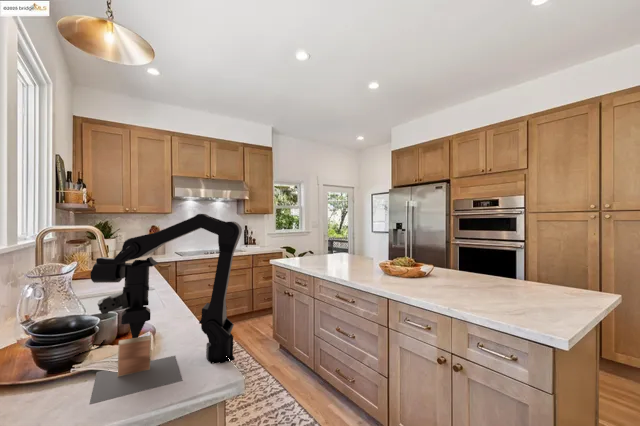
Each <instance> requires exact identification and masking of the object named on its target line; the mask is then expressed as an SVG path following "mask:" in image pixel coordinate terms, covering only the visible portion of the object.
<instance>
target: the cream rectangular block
mask: <svg viewBox="0 0 640 426" xmlns="http://www.w3.org/2000/svg"><path fill="white" fill-rule="evenodd" d="M117 350H118V351H117V352H118V353H117V368H118V373H117V377H119V376H123V375H128V374H132V373H137V372H141V371H146V370H150V361H151V357H152V356H151V353H152V352H151V351H152V336H151V335H145V336H143V335H142V336H138V337H137V338H132V337H131V338H127V339H120V340H118V349H117Z"/></svg>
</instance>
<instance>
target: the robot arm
mask: <svg viewBox="0 0 640 426" xmlns="http://www.w3.org/2000/svg"><path fill="white" fill-rule="evenodd" d="M200 229H202V230H204V231H205V230H206V231H207V232H209V233H211V234H215V235H217V237H218V238H217V243H218V250H219V251H218V258H217V264H216V270H215V274H214V279H213V280H214V281H213V286H212V292H211V297H210V301H209V302H206V303H205V305H204V306H203V307H202V308H201V318H200V321H199V322H198V324H200V326H201V328H200V329H201V331H202V332H203V333H204V335H206V336H207V339H208V342H207V343H206V349H205V350H206V352H205V354H206V355H205V356H206V360H207V361H208V362H210V364H211V365H214V364H218V363H219V364H223V363H228V362H232V361H235V359H236V358H235V356H234V335H233V334H232V331H233V328H234V326H235V325H234V323H233V322H232V321H231V320H230V319H229V318H228V317H227V301H226V298H227V293H228V292H227V291H228V287H229V281H230V276H231V270H232V266H233V265H232V264H233V260H234V253H235V251H236V248H237V247H238V243H239V242H240V239H241V235H242V233H243V229H242V226H241V225H240V223H238V222H236V221H224V220H222V219H219V218H215V217H213V216H210V215H208V214H206V213H197V214H195V216H193V217H190V218H187V219H185V220H182V221H180V222H178V223H176V224H173V225H170V226H169V227H166V228H163V229H161V230H159V231H157V232H151V233H148V234H143V235H138V236H133V237H130V238H127V239H126V240H125V241H123V244H122V249H121V250H120V251H119V253H118V254H117V255H116V256H115V257H105V256H101V257H97V258H95V259H96V260H95V261H96V262H95V264H93V266H92V269H91V271H90V280H91V281H92V282H93V283H94V284H97V283H102V284H104V283H108V284H110V283H112V284H113V283H120V282H121V281H122V279H124V286H122V291H119V292H116V293H114V294H110V295H108V296H106V297H103V298H101V299H100V300H98V301H97V306H98V311H100V313H101V315H102V316H103V315H104V316H105V315H106V314H109V313H110V312H113V311H114V310H117V309H119V308H121V309H124V310H123V312H122V313H121V323H120V324H121V325H129V329H130V333H131V338H137V337H140V334H141V332H142V329H143V328H144V326H145V324H146V323H147V322H149V321H151V313H152V312H151V309H150V308H149V307H148V306H149V305H150V304H149V291H150V267H151V268H152V267H154V266H156V265H159V263H158V261H157V260H155V259H154V258H153V257H152V256H149V255H151V253H153V252H155V251H157V250H159V249H160V247H162V246H164V245H165V244H167V243H169V242H171V241H174V240H176V239H179V238H181V237H184V236H186V235H188V234H191V233H193V232H196V231H198V230H200ZM147 256H149V257H147ZM143 257H147V258H146V259H140V258H143ZM132 260H133V261H132ZM128 261H132V262H128ZM226 356H227V357H226ZM228 358H229V359H230V361H229V359H228Z"/></svg>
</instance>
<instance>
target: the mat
mask: <svg viewBox="0 0 640 426" xmlns="http://www.w3.org/2000/svg"><path fill="white" fill-rule="evenodd" d="M117 373H118V372H109V371H104V370H100V371H96V374H95V379H94V383H93V387H92V391H91V395H90V396H91V397H90V401H89V405H93V404H97V403H101V402H105V401H108V400H111V399H112V400H113V399H116V398H120V397H124V396H127V395H128V396H129V395H132V394H135V393H139V392H140V393H141V392H144V391H148V390H152V389H155V388H160V387H162V386H167V385H171V384H175V383H178V382H183V377H182V373H181V369H180V367H179V363H178V360H177V356H176V355H170V356H167V357H162V358H156V359H152V360H151V359H150V370H146V371H141V372H137V373H132V374H128V375H123V376H119V377H117Z"/></svg>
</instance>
